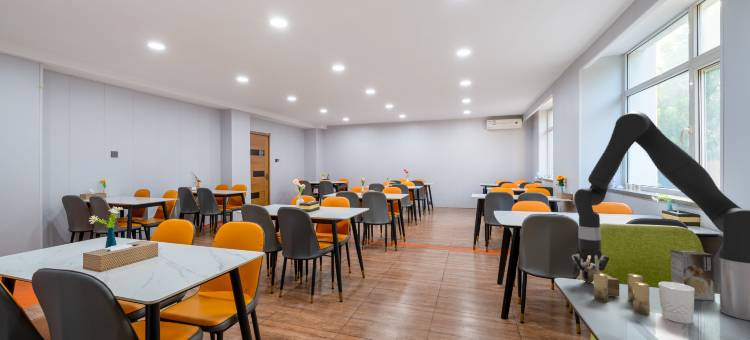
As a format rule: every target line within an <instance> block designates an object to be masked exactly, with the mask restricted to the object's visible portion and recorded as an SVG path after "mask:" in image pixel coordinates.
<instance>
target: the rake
mask: <svg viewBox="0 0 750 340" xmlns="http://www.w3.org/2000/svg"><path fill="white" fill-rule="evenodd" d="M587 272H588V281H585V280H584V279H583V278H582V279H583V280H582V281H583V282H584V281H585V282H584V283H591V282H593V283H594V280H593V279H594V273H603V274H605V273H604V272H603V271H598V270H596V269H594V268H592V266H588V271H587ZM608 297H620V279H619V278H614V277H611V276H610V275H608Z"/></svg>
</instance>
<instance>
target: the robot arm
mask: <svg viewBox="0 0 750 340" xmlns="http://www.w3.org/2000/svg"><path fill="white" fill-rule="evenodd" d="M634 143H636V144H637V145H639V146H640V147H641V148H642V149H643V150H644V152H645V153H646V154H647V156H649V158H650V160H651V162H652V163H653V164H654V166H655V167H656V169H657V170H658V172H660V173H661V174H662V175H663V176H664V178H666V179H667V180H668V181H669V182H670V183H671V184H672V185H673V186H674V187H675V188H676V189H678V190H679V191H680V192H681V193H683V195H685V196H686V197H687V198H688V199H690V200H691V201H693V203H695V205H697V207H699V208H700V210H701V211H703V213H704V214H705V215H706V217H708V219H709V220H710V221H711V222H712V224H713V225H714V226H715V227H716V228H717V230H719V231H720V232H722V245H721V247H719V248H718V274H719V307H720V308H719V309H720V311H721V312H722V313H723V314H725V315H728V316H730V317H733V318H737V319H740V320H746V321H750V209H745V208H742V207H740V206H739V205H737V203H735V202H734V201H732V199H730V198H729V197H727V196H726V195H725V194H724V193H723V192H722V191H721V190H720V189H719V186H717V184H716V183H715V181H714V180H713V178H712V177H711V175H710V174H709V172H708V171H707V170H706V168H704V167H703V165H701V164H700V163H699V162H698V161H697V160H696V159H694V158H693V157H692V156H691V155H690V154H688V152H686V151H685V150H684V149H682V147H680V146H679V145H677V144H676V143H675V142H673V141H672V140H671V139H669V138H668V137H667V136H666V135H665V134H664V133H663V132H662V131H661V129H660V128H658V127H657V126H656V124H655V123H654V122H653V120H652V119H651V118H650V117H649V115H648V114H646V113H644V112H641V111H630V112H627V113H624V114H622V115H621V116H619V117H618V118H617V120H616V122H615V124H614V128H613V131H612V134H611V137H610V138H609V141H608V144H607V145H606V148H605V150H604V151H603V153H602V155H601V156H600V158H598V161H597V163H596V164H595V166H594V167H593V169H592V171H591V172H590V174H589V176H588V179H587V180H588V183H589V184H590V186H589V188H579V189H577V191H575V193H574V196H573V201H574V204H575V207H576V211H577V215H578V232H577V233H578V234H577V236H578V252H577V253H575V254H571V255H570V257H571V258H572V261H573V263H574V265H575V267H576V268H577V269H578V270H580V271H581V278H582V279H584V280H585V281H588V272H587V271H588V267H590V264H591V267H592V268H594V269H596V270H598V271H600V272H603V271H605V269H606V267H607V264H608V262H609V260H610V257H609V256H607V255H603V253H602V232H601V220H600V219H601V218H600V215H599V213H598V212H596V211H594V209H593V206H599V205H601V204H602V202H603V201H604V200H605V198H606V195H607V192H608V188H609V185H610V184H611V182H612V180H613V179H614V177H615V175H616V174H617V172H618V170H619V167H620V166H621V163H622V161H623V160H624V158H625V156H626V155H627V153H628V151H629V149H630V148H631V147H632V145H633V144H634ZM580 259H581V262H580ZM599 260H600V261H599ZM593 281H594V279H593Z"/></svg>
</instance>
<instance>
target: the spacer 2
mask: <svg viewBox="0 0 750 340" xmlns="http://www.w3.org/2000/svg"><path fill="white" fill-rule="evenodd" d="M643 279H644V278H643V276H642V275H640V274H635V273H627V301H628V302H630V303H632V304H633V282H641V283H644V282H643Z"/></svg>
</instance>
